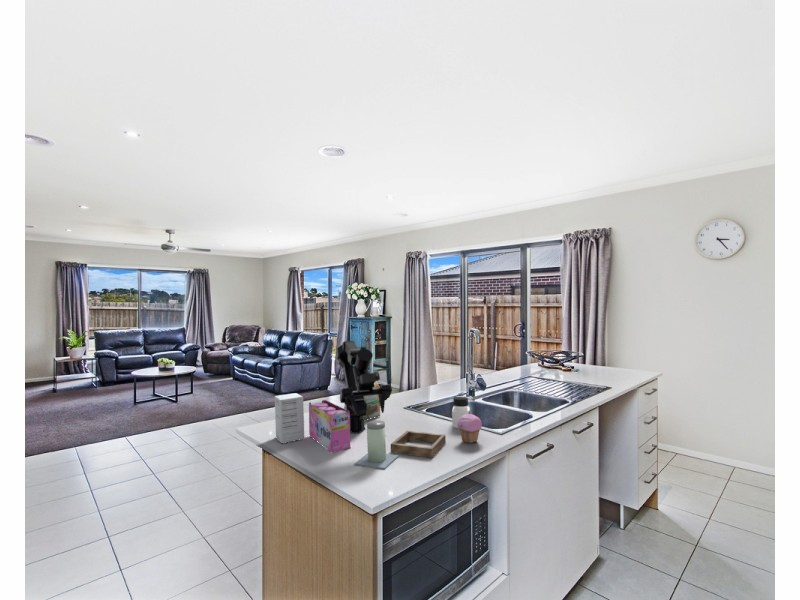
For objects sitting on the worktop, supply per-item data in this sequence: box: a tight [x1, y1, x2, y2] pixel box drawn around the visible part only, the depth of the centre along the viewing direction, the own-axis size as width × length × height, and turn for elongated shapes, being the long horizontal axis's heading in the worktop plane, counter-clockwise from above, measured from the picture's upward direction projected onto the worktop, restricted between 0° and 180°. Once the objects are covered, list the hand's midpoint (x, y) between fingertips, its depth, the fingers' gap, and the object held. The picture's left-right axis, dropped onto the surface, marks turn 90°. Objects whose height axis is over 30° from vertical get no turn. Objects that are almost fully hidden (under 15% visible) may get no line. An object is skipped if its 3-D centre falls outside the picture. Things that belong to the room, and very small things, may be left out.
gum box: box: [308, 399, 351, 453], centre depth 154 cm, size 24×8×14 cm, turn 33°
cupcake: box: [458, 413, 483, 444], centre depth 149 cm, size 9×9×10 cm
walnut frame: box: [390, 430, 447, 459], centre depth 144 cm, size 15×15×3 cm
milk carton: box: [363, 381, 381, 421], centre depth 186 cm, size 11×10×19 cm
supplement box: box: [274, 392, 305, 444], centre depth 158 cm, size 10×9×17 cm
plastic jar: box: [366, 420, 387, 463], centre depth 133 cm, size 6×6×12 cm
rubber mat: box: [353, 452, 400, 470], centre depth 133 cm, size 11×11×1 cm
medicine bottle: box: [451, 395, 471, 429], centre depth 169 cm, size 7×7×12 cm
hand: (370, 413), depth 141 cm, fingers open, 9 cm apart
